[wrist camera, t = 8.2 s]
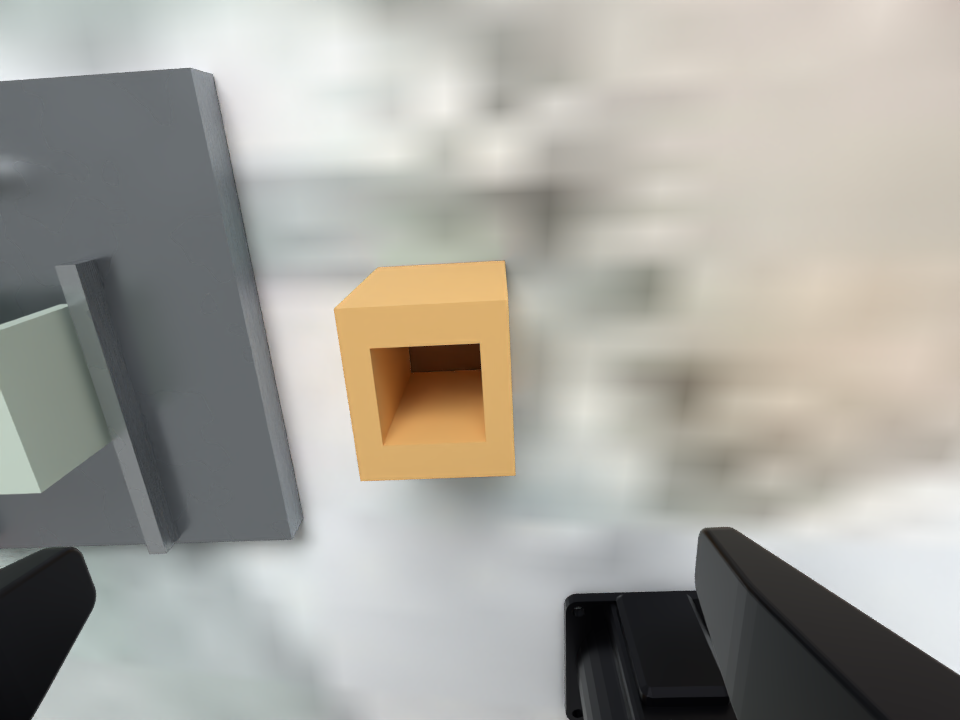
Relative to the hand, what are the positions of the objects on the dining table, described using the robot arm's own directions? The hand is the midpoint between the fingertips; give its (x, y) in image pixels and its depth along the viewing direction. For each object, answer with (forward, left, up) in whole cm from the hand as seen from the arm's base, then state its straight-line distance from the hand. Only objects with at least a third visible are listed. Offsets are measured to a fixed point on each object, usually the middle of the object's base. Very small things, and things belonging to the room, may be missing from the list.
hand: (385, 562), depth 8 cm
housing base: (+1, +14, -11) cm, 18 cm away
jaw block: (0, 0, -11) cm, 11 cm away
